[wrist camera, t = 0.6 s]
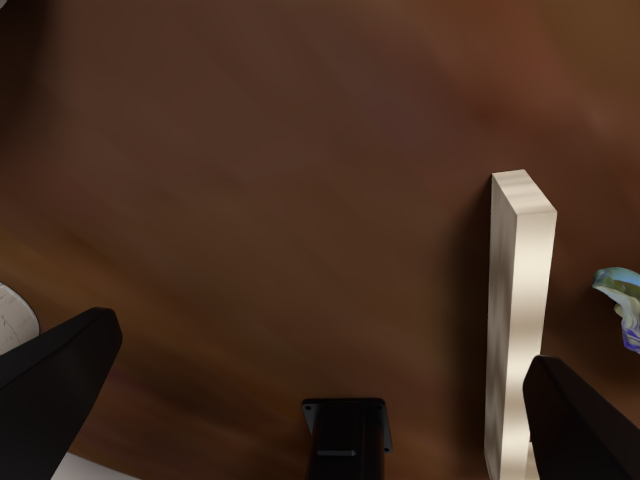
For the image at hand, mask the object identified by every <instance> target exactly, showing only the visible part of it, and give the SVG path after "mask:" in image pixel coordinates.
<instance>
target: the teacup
mask: <svg viewBox="0 0 640 480" xmlns="http://www.w3.org/2000/svg"><path fill="white" fill-rule="evenodd" d="M6 2H7V0H0V9H1V8H2V7H3V5H4V4H5V3H6Z"/></svg>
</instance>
